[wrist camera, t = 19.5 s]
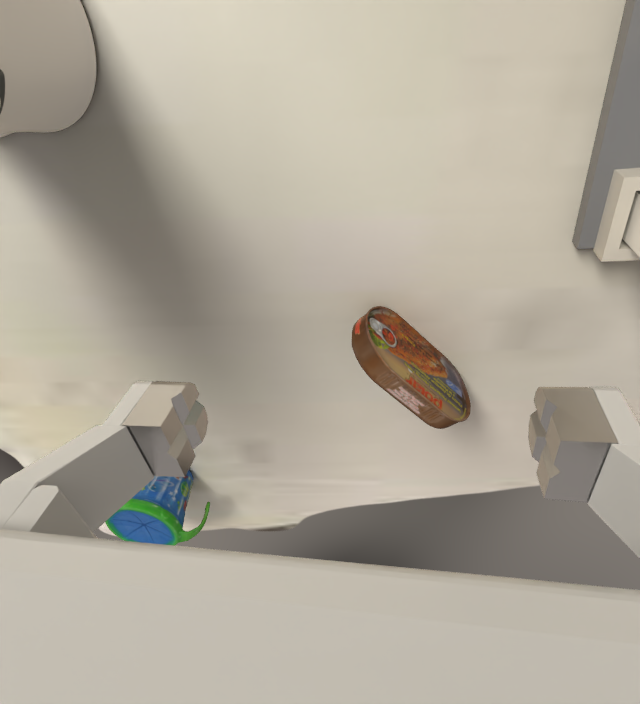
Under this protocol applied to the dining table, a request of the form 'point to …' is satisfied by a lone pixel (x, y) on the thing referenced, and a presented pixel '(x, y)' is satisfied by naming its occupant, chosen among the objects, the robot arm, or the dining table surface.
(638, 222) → the block
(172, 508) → the snack cup
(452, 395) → the tin
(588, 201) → the board
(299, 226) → the dining table surface
